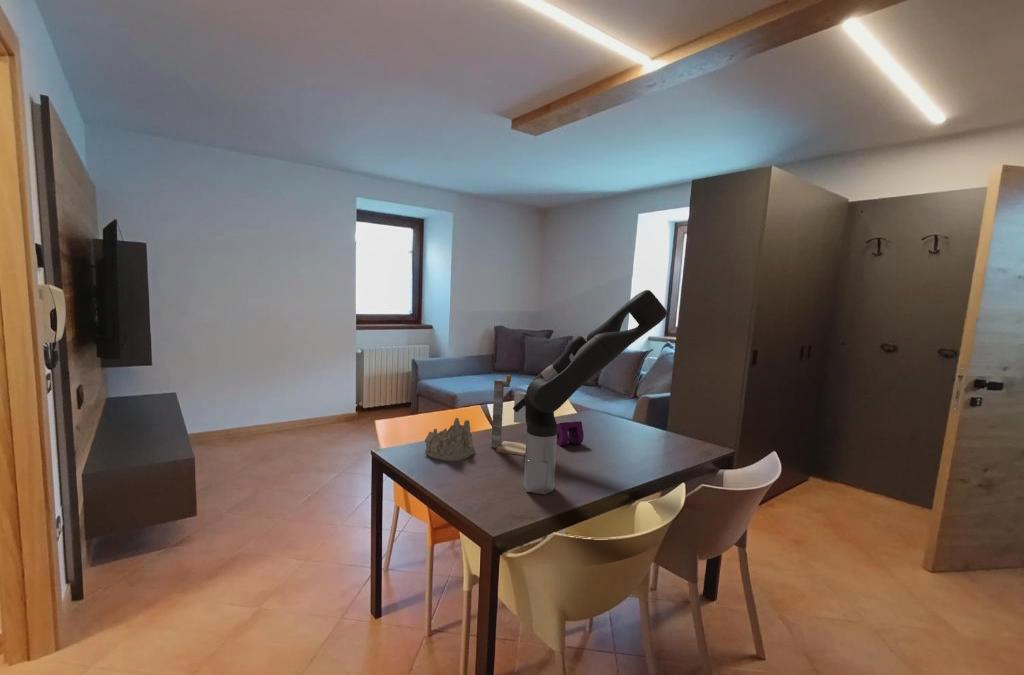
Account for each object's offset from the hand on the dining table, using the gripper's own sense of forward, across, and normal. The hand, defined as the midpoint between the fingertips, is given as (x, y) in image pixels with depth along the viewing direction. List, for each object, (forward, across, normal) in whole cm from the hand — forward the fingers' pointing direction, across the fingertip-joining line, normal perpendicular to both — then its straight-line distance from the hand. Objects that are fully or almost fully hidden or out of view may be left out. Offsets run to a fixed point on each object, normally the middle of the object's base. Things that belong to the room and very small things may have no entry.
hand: (515, 408), depth 166 cm
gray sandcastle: (+27, -11, +4) cm, 29 cm away
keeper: (+12, 0, -10) cm, 16 cm away
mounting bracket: (0, +18, -24) cm, 30 cm away
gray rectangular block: (+2, 0, -5) cm, 5 cm away
